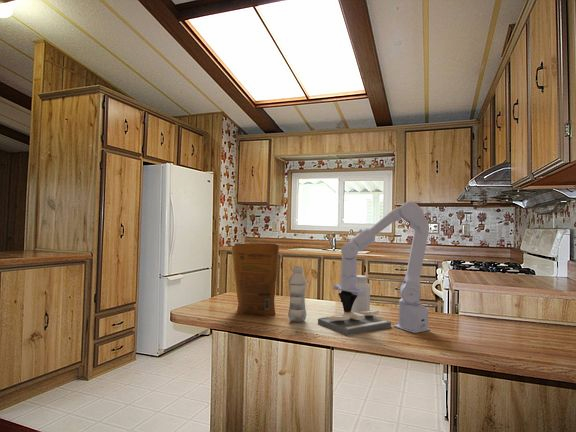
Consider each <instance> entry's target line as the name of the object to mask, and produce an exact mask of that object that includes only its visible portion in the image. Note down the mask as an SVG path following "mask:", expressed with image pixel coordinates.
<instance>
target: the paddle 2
mask: <svg viewBox="0 0 576 432" xmlns="http://www.w3.org/2000/svg"><path fill="white" fill-rule="evenodd" d="M358 313H359V314H362V315H365V316H370V315H374V316H376V315H380V311H379V310H370V311H361V312H358Z"/></svg>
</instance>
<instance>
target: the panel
mask: <svg viewBox="0 0 576 432" xmlns="http://www.w3.org/2000/svg"><path fill="white" fill-rule="evenodd" d="M355 313H358V312H355ZM338 315H339V316H344V313H342V314H338ZM329 317H330V315H329V316H324V317H319V318H318V319H317V324H318V325H321V326H322V327H325V328H328V329H330V330H333V331H334V332H335V331H336V332H338V333H341V334H343V335H346V336H352V335H357V334H358V335H359V334H363V333H368V332H373V331H378V330H385V329H389V328H391V327H392V322H391V321H389V320H386V319H382V318H379V317H375V315H370V316H365V319H360V320H355V319H352V318H350V319H347V320H329Z"/></svg>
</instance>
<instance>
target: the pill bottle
mask: <svg viewBox="0 0 576 432" xmlns="http://www.w3.org/2000/svg"><path fill="white" fill-rule="evenodd" d="M367 281H368V276H367V275H364V274H363V275H362V274H357V282H356V288H358V289H360V290H363V291H364V296H363V297H359V296H357V298H356V299H355V301H354V303H353V306H352V309H351V311H352V312H361V311H371V310H370V305H371V303H370V302H371V301H370V300H371V285H370V283H368V282H367Z"/></svg>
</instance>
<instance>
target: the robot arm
mask: <svg viewBox="0 0 576 432" xmlns="http://www.w3.org/2000/svg"><path fill="white" fill-rule="evenodd" d="M402 220H404V221H405V222H407V223H409V225H410V227H411V228H412V229H413V234H412V235H413V236H412V241H411V246H410V250H409V252H410V253H409V256H408V263H407V268H406V274H405V275H404V279H403V282H402V283H401V285H400V287H399V294H400V295H401V298H400V299H398V323H397V324H393V327H395V328H398V329H401V330H402V331H403V330H404V331H406V332H410V333H413V334H418V333H422V332H426V331H430V328H429V310H428V308H427V307H426V305H422V304H421V303H422V302H421V296H422V293H421V289H420V287H421V274H422V269H423V263H424V258H425V252H426V248H427V243H428V237H429V231H430V225H429V222H428V220H427V218H426V216H425V214H424V210H423V209H422V207H420V206H419V205H418V204H417V203H416V202H415V201H407V202H404V203H403V204H401V205H400V206H398V207H396V208H394V209H393V210H391V211H390V212H388V213H387V214H385V216H384V217H382V218H381V219H380V220H379V221H377V222H376V223H375V224H374V225H373V226H372V227H371V228H367V227H365V228H363V229H359V230H358V233H357V234H356V235H354V236H353V237H352V238H349V239H348V241H349V242H345V243H344V244H343V245H342V247H341V251H340V253H341V255H342V256H341V262H340V267H341V268H340V284H339V283H333V290H335V291H339V292H338V297H339V299H340V301H341V304H342V309H343V313H344V312H351V309H352V306H353V303H354V301H355V299H356V298H357V296H359V297H363V296H364V291H363V290H360V289H358V288H356V282H357V275H358V262H357V256H358V253H359V252H362V251H364V250H365V249H366V248H367V247H369V246H370V245H371V244H373V243H374V242H375V240H376V235H378V234H379V233H380V232H382V231H383V230H385V229H386V228H387V227H389V226H390V225H391V224H392V223H394V222H400V221H402ZM340 291H341V292H340Z"/></svg>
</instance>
